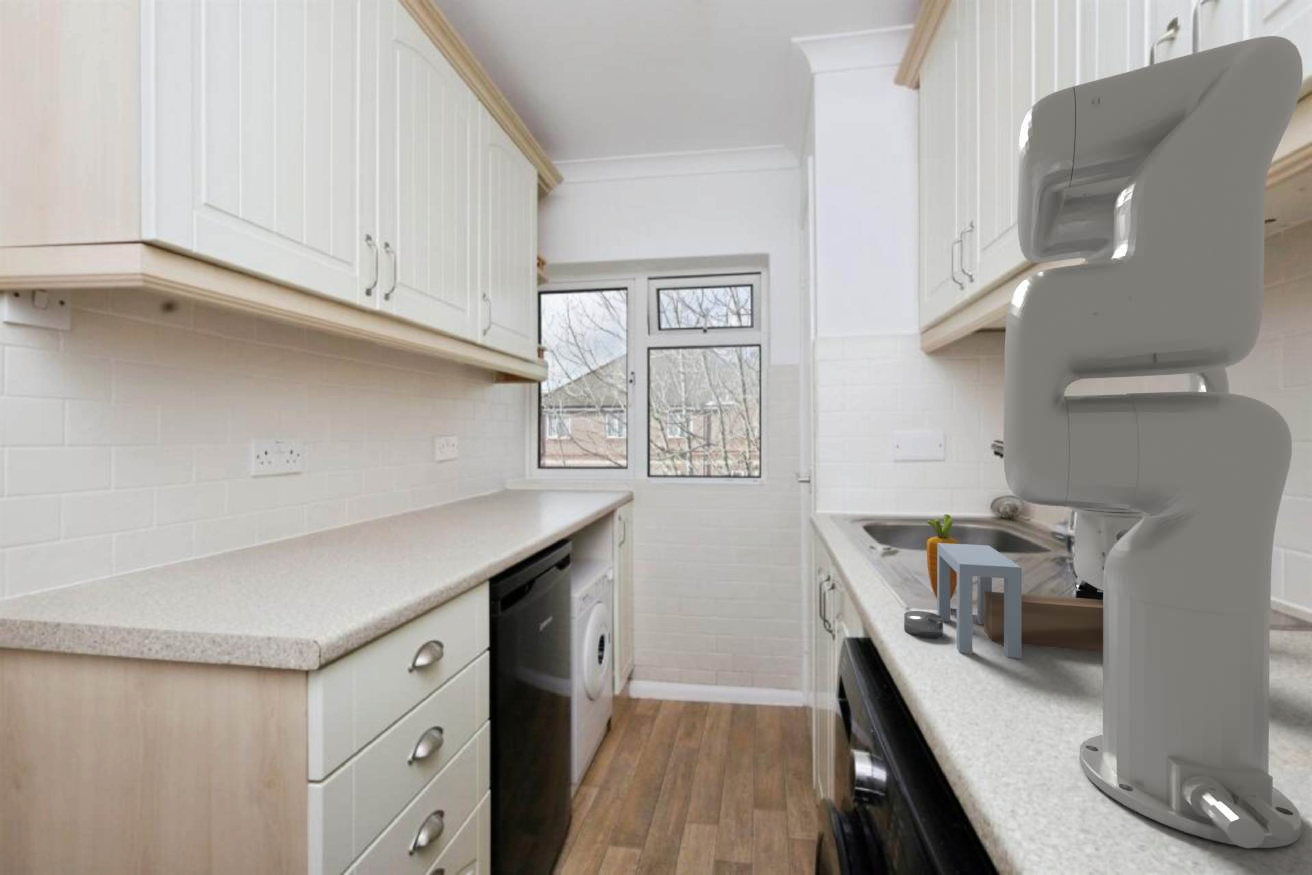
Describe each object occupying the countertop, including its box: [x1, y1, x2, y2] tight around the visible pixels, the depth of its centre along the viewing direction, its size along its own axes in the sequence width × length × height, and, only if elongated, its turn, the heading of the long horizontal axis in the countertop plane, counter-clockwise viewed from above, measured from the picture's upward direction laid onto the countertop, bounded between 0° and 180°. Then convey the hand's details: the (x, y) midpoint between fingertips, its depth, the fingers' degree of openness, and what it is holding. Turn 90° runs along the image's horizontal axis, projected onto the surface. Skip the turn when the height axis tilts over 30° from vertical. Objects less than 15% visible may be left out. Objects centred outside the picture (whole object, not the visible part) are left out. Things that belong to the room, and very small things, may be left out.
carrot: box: [926, 513, 961, 601], centre depth 90 cm, size 5×5×15 cm
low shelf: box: [936, 543, 1023, 660], centre depth 77 cm, size 14×7×12 cm, turn 164°
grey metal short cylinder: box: [903, 610, 944, 640], centre depth 79 cm, size 5×5×2 cm
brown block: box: [983, 591, 1103, 653], centre depth 75 cm, size 4×18×6 cm, turn 72°
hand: (1107, 631), depth 73 cm, fingers open, 9 cm apart
